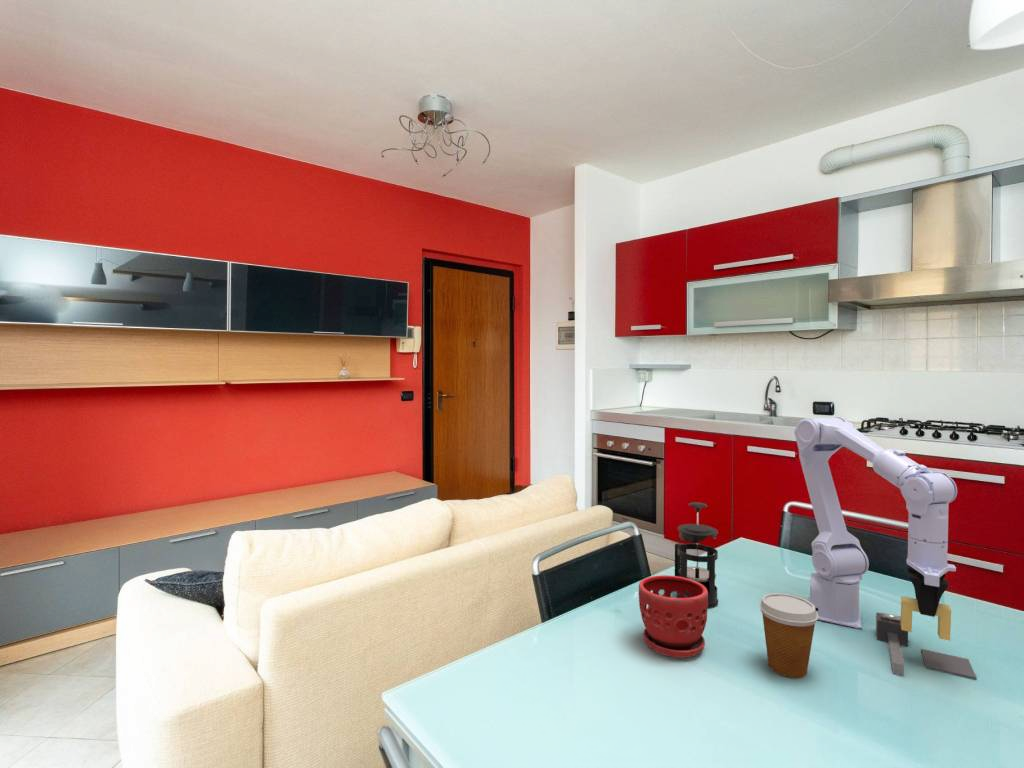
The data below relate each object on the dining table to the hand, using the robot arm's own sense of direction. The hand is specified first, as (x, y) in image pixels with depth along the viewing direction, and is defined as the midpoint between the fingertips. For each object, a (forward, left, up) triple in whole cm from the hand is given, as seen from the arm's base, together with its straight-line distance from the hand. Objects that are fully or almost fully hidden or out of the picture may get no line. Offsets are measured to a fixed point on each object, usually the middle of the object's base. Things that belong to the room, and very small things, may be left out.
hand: (926, 611), depth 97 cm
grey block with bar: (-5, +1, -10) cm, 11 cm away
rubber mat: (+3, +2, -10) cm, 11 cm away
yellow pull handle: (0, 0, -4) cm, 4 cm away
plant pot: (-42, -18, -10) cm, 46 cm away
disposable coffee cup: (-22, -15, -10) cm, 28 cm away
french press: (-43, +6, -10) cm, 44 cm away
